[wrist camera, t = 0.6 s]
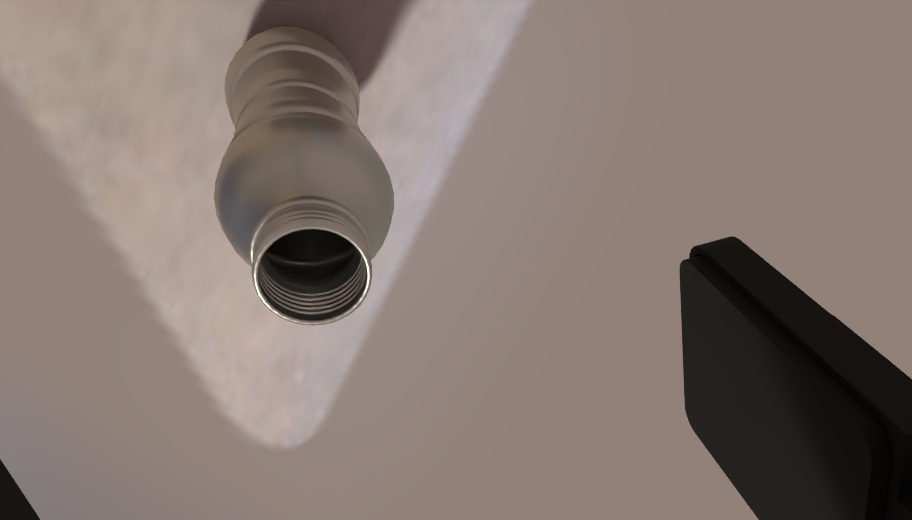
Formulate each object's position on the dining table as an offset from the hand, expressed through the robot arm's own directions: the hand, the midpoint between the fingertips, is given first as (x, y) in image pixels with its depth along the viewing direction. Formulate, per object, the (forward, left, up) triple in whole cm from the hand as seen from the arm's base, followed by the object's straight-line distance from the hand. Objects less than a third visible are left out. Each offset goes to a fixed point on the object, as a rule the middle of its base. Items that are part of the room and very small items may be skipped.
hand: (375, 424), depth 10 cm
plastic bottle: (+5, -1, -33) cm, 33 cm away
